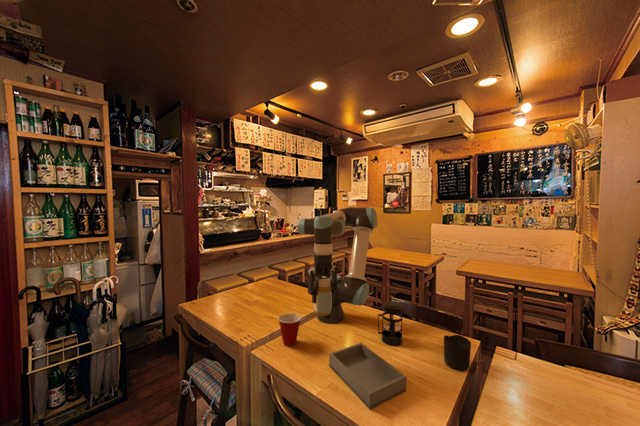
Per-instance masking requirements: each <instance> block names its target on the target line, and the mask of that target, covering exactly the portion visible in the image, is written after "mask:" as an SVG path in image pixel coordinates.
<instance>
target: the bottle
mask: <svg viewBox="0 0 640 426" xmlns="http://www.w3.org/2000/svg"><path fill="white" fill-rule="evenodd" d="M316 279H317V278H316ZM317 296H318V312H317V311H315V310H314V309H313V311H314V314H315V315H316V316H317V315H318V316H327V315H329V314H330V313H331V286H330V277H329V278H327V277H325V276H323V277H322V279H319V288H318V292H317Z"/></svg>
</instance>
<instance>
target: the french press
mask: <svg viewBox="0 0 640 426" xmlns="http://www.w3.org/2000/svg"><path fill="white" fill-rule="evenodd" d="M387 293H388V294H389V295H391V301H390V300H388V301H387V300H386V301H384V302H383V303H382V306H383V309H382V310H384V312H382V313H378V314H377V334H379V335H381V342H382V343H383V344H385V345H387V346H391V347H399V346H402V344H403V315H402V314H401V313H400V312H401V310H402V309H403V308H404V306H403V304H402V303H400V302H398V301H394V296H395V295H398V292H397V291H394V290H389V291H387ZM386 315H389V318H388V317H386ZM394 315H395V316H398V317H400V318H398V319H397V318H395V319H394ZM380 317H382V318H381V319H382V321H381V323H382V325H381V331H379V330H380ZM384 321H386V322H385V323H384ZM398 323H401V325H399V324H398Z"/></svg>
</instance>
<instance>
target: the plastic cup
mask: <svg viewBox="0 0 640 426" xmlns="http://www.w3.org/2000/svg"><path fill="white" fill-rule="evenodd" d="M277 321H278V323H279V326H280V334H281V340H282V343H283V345H284V346H285V347H293V346H296V344H297V339H298V338H297V337H298V335H299V328H300V323H301V321H302V316H301V315H300V314H297V313H284V314H281V315H278V317H277Z"/></svg>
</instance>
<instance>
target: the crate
mask: <svg viewBox="0 0 640 426" xmlns="http://www.w3.org/2000/svg"><path fill="white" fill-rule="evenodd" d="M328 366H329V368H330V369H331V370H332V372H334V373H335V374H336V375H337V376H338V377H339V379H340V380H342V382H343V383H344V384H345V385H346V386H347V387H348V388H349V390H351V392H353V393H354V395H356V397H357V398H358V399H359V400H360V401H361V402H362V403H363V405H364V406H365V407H366V408H367V409H369V410H372V409H375V408H376V407H378V406H380V405H382V404H384V403H386V402H388V401H390V400H392V399H393V398H396V397H397V396H399V395H401V394H403V393H405V392H407V376H406V375H405V374H403V372H401V371H399V370H398V369H397V368H396V367H394V366H393V365H391V364H390V363H389V362H387V361H386V360H385V359H384V358H382V357H381V356H380V355H378V354H377V353H375V352H374V351H373V350H371V348H369V347H368V346H367V345H366V344H364V343H363V342H360V343H357V344H356V343H355V344H354V345H351V346H348V347H345V348H341V349H338V350H336V351H332V352H330V353H328Z"/></svg>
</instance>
